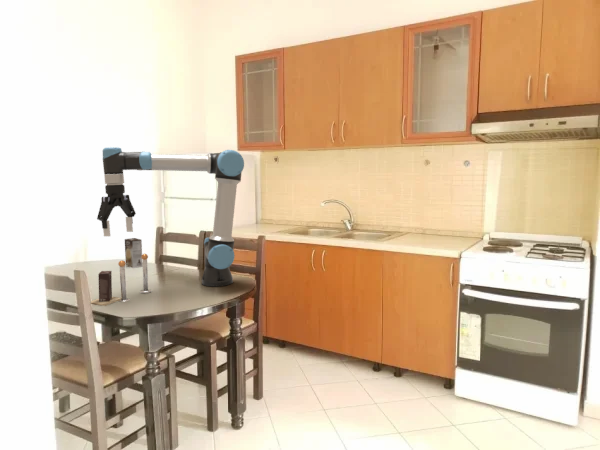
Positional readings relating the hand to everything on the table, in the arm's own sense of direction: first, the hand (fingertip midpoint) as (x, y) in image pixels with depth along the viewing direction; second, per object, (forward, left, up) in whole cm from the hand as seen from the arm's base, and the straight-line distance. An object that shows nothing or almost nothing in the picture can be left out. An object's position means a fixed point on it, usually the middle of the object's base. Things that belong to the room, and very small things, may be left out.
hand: (118, 233), depth 188 cm
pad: (+2, +7, -28) cm, 29 cm away
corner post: (-4, +3, -29) cm, 29 cm away
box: (+2, +7, -28) cm, 29 cm away
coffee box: (+42, -56, -28) cm, 76 cm away
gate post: (-4, -11, -28) cm, 30 cm away
